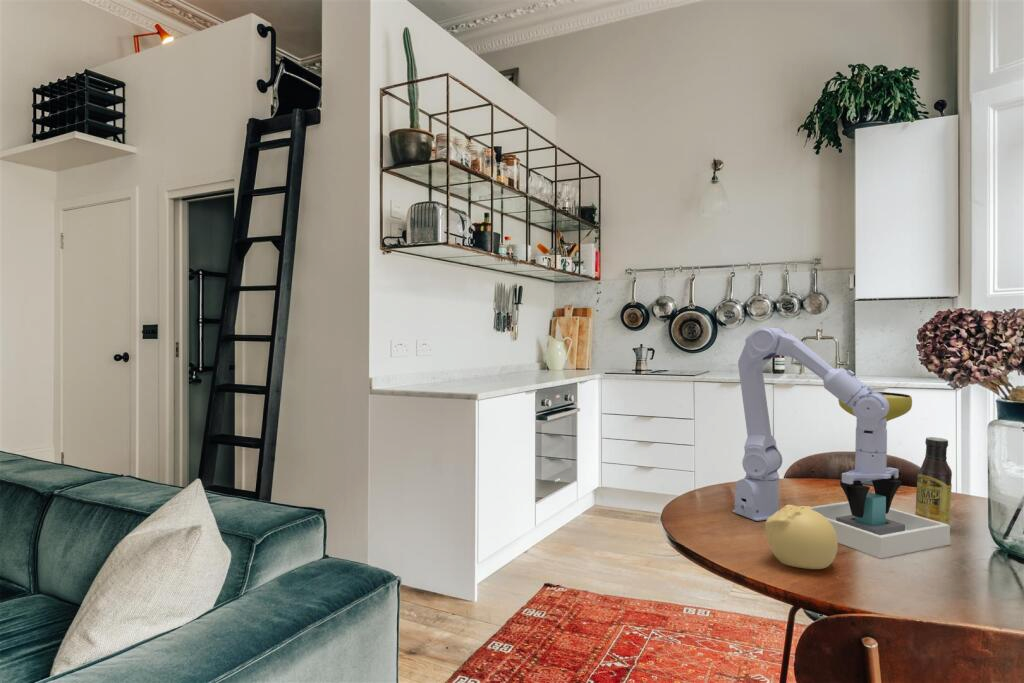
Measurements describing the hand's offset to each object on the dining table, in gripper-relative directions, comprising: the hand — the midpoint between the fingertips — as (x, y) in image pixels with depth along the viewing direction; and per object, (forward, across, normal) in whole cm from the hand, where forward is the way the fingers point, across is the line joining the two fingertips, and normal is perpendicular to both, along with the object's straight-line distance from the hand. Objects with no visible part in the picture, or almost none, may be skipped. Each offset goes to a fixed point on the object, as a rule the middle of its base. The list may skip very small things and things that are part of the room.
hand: (870, 514), depth 130 cm
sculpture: (+5, -26, -6) cm, 27 cm away
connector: (+4, 0, 0) cm, 4 cm away
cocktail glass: (+5, +43, +32) cm, 54 cm away
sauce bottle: (+5, +17, -2) cm, 18 cm away
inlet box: (+4, 0, 0) cm, 4 cm away
